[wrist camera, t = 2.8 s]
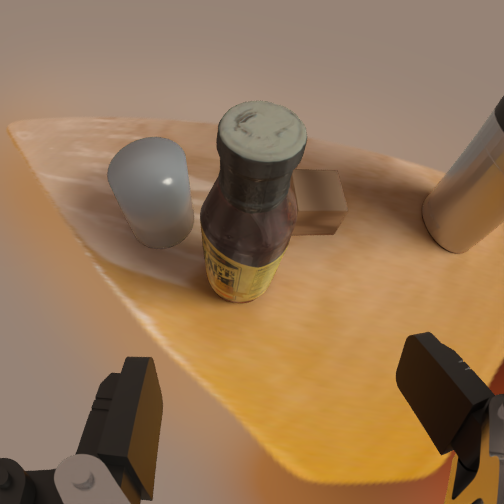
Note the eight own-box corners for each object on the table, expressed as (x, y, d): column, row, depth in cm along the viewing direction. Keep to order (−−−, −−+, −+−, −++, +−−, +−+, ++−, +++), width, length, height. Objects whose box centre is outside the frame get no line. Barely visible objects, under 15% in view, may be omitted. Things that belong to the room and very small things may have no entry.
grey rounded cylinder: (194, 191, 35) (188, 134, 27) (193, 247, 32) (184, 196, 24) (135, 195, 35) (115, 140, 27) (128, 249, 32) (100, 202, 24)
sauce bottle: (199, 258, 32) (174, 92, 14) (257, 240, 33) (289, 74, 15) (220, 318, 29) (210, 191, 12) (281, 297, 31) (352, 158, 13)
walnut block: (325, 197, 36) (337, 170, 32) (333, 235, 34) (348, 210, 30) (283, 197, 36) (291, 169, 31) (289, 236, 34) (298, 210, 29)
